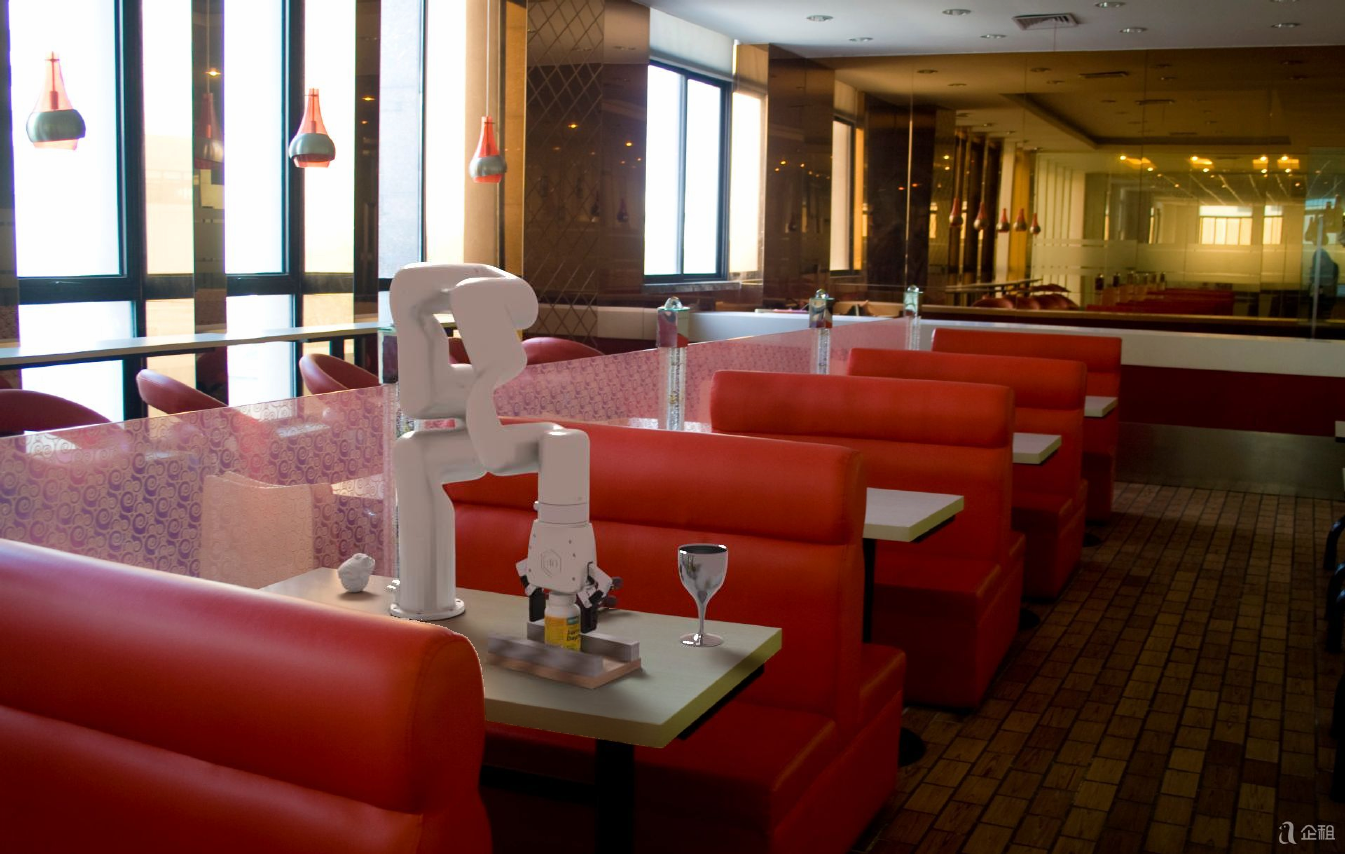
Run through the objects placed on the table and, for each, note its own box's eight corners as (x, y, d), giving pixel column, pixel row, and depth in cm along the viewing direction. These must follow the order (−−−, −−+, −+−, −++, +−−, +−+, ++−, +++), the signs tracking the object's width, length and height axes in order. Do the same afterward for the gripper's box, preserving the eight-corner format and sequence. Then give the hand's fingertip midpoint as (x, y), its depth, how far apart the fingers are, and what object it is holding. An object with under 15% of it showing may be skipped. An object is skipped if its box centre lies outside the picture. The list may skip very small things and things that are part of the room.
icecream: (558, 587, 199) (634, 584, 208) (539, 567, 205) (614, 565, 214) (550, 624, 201) (626, 619, 210) (531, 604, 207) (606, 599, 216)
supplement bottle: (556, 647, 183) (556, 586, 181) (587, 652, 180) (587, 590, 179) (537, 657, 178) (537, 594, 177) (569, 662, 176) (569, 598, 174)
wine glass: (733, 636, 195) (735, 546, 193) (714, 650, 188) (716, 556, 186) (688, 630, 198) (690, 541, 196) (668, 643, 191) (670, 551, 189)
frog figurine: (381, 592, 219) (381, 554, 218) (345, 598, 215) (345, 559, 214) (366, 585, 224) (366, 548, 223) (331, 591, 219) (330, 553, 219)
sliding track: (485, 662, 180) (485, 636, 179) (537, 643, 190) (537, 618, 189) (592, 689, 169) (592, 661, 168) (640, 667, 179) (641, 641, 178)
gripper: (502, 509, 178) (501, 621, 180) (595, 524, 169) (593, 642, 171) (534, 502, 184) (534, 610, 186) (626, 516, 175) (624, 630, 177)
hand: (562, 625), depth 179 cm, fingers open, 9 cm apart
